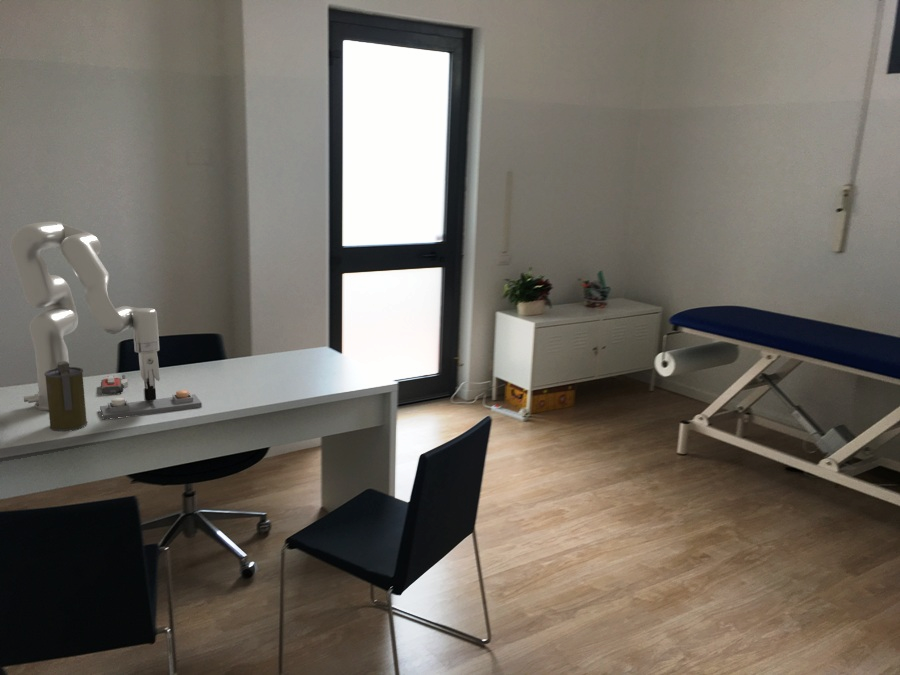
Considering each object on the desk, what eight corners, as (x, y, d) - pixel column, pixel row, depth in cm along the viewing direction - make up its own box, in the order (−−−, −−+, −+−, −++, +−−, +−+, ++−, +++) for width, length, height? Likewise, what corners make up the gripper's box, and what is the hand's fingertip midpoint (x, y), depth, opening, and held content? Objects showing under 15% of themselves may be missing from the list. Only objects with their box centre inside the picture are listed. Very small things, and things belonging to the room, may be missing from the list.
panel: (104, 420, 232) (103, 411, 232) (100, 410, 241) (99, 401, 240) (201, 406, 247) (201, 398, 247) (195, 398, 256) (194, 390, 255)
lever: (154, 400, 247) (154, 389, 246) (145, 401, 245) (144, 391, 244) (153, 398, 248) (152, 388, 248) (144, 399, 247) (143, 389, 246)
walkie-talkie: (128, 394, 259) (127, 379, 276) (128, 382, 258) (126, 367, 275) (101, 397, 255) (101, 381, 273) (100, 384, 254) (100, 369, 272)
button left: (112, 407, 236) (112, 402, 235) (111, 404, 239) (110, 398, 239) (126, 406, 238) (125, 400, 237) (124, 402, 241) (123, 397, 241)
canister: (48, 423, 228) (42, 360, 224) (85, 417, 234) (80, 357, 229) (51, 434, 219) (44, 369, 215) (89, 428, 225) (84, 365, 220)
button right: (177, 399, 246) (177, 394, 245) (175, 396, 249) (175, 391, 249) (190, 397, 248) (189, 392, 247) (187, 394, 251) (187, 389, 251)
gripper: (162, 350, 235) (166, 404, 240) (155, 340, 248) (158, 392, 252) (137, 352, 232) (141, 407, 236) (131, 342, 244) (135, 394, 248)
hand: (150, 399), depth 244 cm, fingers closed
